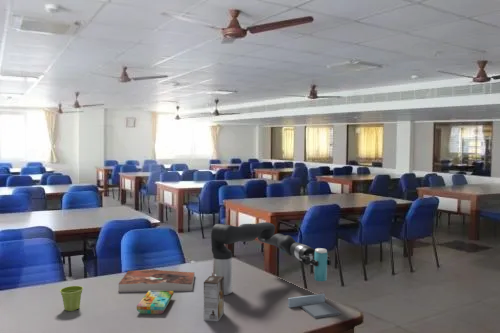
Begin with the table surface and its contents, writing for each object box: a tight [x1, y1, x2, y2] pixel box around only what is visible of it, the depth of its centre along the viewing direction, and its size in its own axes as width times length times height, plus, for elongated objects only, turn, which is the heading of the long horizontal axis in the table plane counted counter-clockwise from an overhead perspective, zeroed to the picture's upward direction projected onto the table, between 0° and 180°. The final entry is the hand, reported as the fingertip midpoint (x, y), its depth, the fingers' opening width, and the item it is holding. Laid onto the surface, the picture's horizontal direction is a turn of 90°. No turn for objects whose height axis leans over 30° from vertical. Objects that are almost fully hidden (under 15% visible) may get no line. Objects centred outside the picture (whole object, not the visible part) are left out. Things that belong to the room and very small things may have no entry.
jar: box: [313, 247, 328, 282], centre depth 190 cm, size 6×6×13 cm
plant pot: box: [59, 285, 84, 312], centre depth 191 cm, size 9×9×9 cm
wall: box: [287, 293, 326, 309], centre depth 198 cm, size 18×1×4 cm, turn 110°
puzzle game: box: [136, 291, 175, 315], centre depth 195 cm, size 12×5×20 cm
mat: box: [300, 301, 341, 319], centre depth 190 cm, size 12×13×1 cm
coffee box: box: [203, 275, 225, 322], centre depth 183 cm, size 9×6×16 cm
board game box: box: [117, 268, 196, 293], centre depth 227 cm, size 36×23×5 cm, turn 94°
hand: (323, 263), depth 187 cm, fingers closed on jar, 5 cm apart
